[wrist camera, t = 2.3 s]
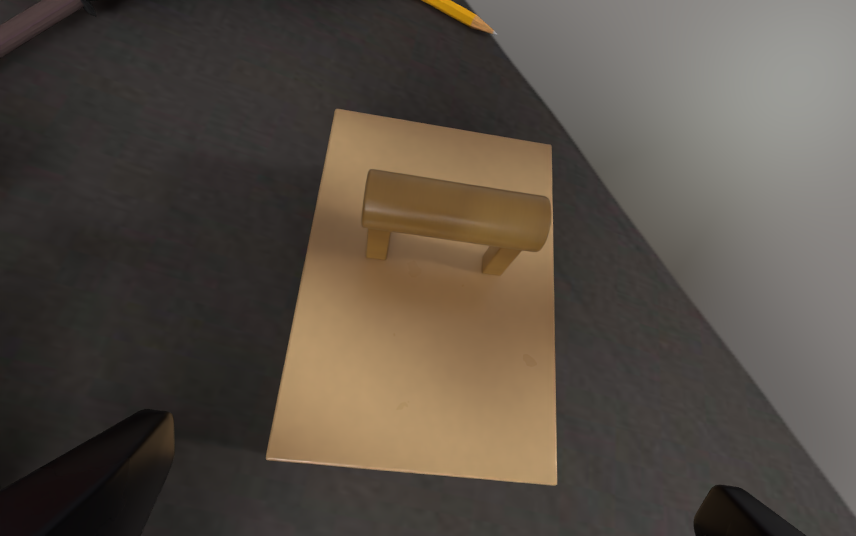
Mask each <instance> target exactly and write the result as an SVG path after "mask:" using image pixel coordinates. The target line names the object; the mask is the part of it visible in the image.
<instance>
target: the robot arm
mask: <svg viewBox="0 0 856 536" xmlns="http://www.w3.org/2000/svg"><path fill="white" fill-rule="evenodd" d="M174 453H175V445H174V418H173V415H172V414H171V413H170V412H167V411H159V410H152V409H144V410H141V411H138V412H137V413H135V414H133V415H131V416H130V417H128V418H126V419H124V420H123V421H121V422H119V423H117V424H116V425H114V426H112V427H110V428H109V429H107V430H105V431H103V432H102V433H100V434H98V435H96V436H95V437H93V438H91V439H89V440H88V441H86V442H84V443H82V444H81V445H79V446H77V447H75V448H74V449H72V450H70V451H68V452H67V453H65V454H63V455H61V456H60V457H58V458H56V459H54V460H53V461H51V462H49V463H47V464H46V465H44V466H42V467H40V468H39V469H37V470H35V471H33V472H32V473H30V474H28V475H26V476H25V477H23V478H21V479H19V480H18V481H16V482H14V483H12V484H11V485H9V486H7V487H5V488H4V489H2V490H0V536H140V535H141V533H142V531H143V529H144V526H145V524H146V522H147V520H148V517H149V515H150V513H151V511H152V509H153V506H154V504H155V502H156V500H157V497H158V495H159V493H160V491H161V489H162V486H163V484H164V482H165V480H166V477H167V475H168V473H169V471H170V468H171V466H172V463H173V459H174ZM694 531H695V535H696V536H806V535H805V534H803V533H802V532H801V531H799V530H798V529H796V528H795V527H794V526H792V525H791V524H790V523H788V522H787V521H786V520H784V519H783V518H782V517H780V516H779V515H778V514H776V513H775V512H773V511H772V510H771V509H769V508H768V507H767V506H765V505H764V504H763V503H761V502H760V501H759V500H757V499H756V498H754V497H753V496H752V495H750V494H749V493H748V492H746V491H745V490H743V489H741V488H739V487H734V486H726V485H715V486H714V487H712V488H711V490H710V491H709V493H708V494H707V496H706V498H705V499H704V501H703V503H702V505H701V506H700V508H699V510H698V511H697V513H696V515H695V517H694Z"/></svg>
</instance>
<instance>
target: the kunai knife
mask: <svg viewBox="0 0 856 536" xmlns="http://www.w3.org/2000/svg"><path fill="white" fill-rule="evenodd" d="M89 1H96V0H42V1H40V2H38V3H37V4H35V5H33V6H32V7H30V8H28V9H27V10H25V11H23V12H22V13H20V14H18V15H17V16H15V17H13V18H12V19H10V20H8V21H7V22H5V23H3V24H2V25H0V58H2V57H3V56H5V55H6V54H8V53H10V52H11V51H13V50H14V49H16V48H18V47H19V46H21V45H23V44H24V43H26V42H27V41H29V40H31V39H32V38H34V37H35V36H37V35H39V34H40V33H42V32H44V31H45V30H47V29H48V28H50V27H52V26H53V25H55V24H56V23H58V22H60V21H61V20H63V19H65V18H66V17H68V16H69V15H71V14H73V13H74V12H76V11H77V10H79V9H81V8H82V7H83V8H84V9H85V10H86V11H87V12H88V13H89V14H91V15H93V16H95V17H96V11H95V9H94V7H93V6H92V5H91V3H90V2H89Z"/></svg>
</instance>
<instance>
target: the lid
mask: <svg viewBox="0 0 856 536" xmlns="http://www.w3.org/2000/svg"><path fill="white" fill-rule="evenodd" d="M266 459H267V460H271V461H283V462H294V463H305V464H317V465H328V466H339V467H351V468H362V469H373V470H385V471H396V472H407V473H419V474H430V475H441V476H453V477H464V478H475V479H487V480H498V481H509V482H521V483H532V484H543V485H557V440H556V381H555V322H554V262H553V203H552V146H551V145H548V144H542V143H536V142H530V141H524V140H518V139H513V138H507V137H501V136H495V135H489V134H483V133H477V132H471V131H465V130H460V129H454V128H448V127H442V126H436V125H430V124H424V123H418V122H412V121H407V120H401V119H395V118H389V117H383V116H377V115H371V114H365V113H359V112H354V111H348V110H342V109H336V110H335V113H334V118H333V123H332V128H331V133H330V138H329V143H328V148H327V153H326V158H325V163H324V168H323V173H322V178H321V183H320V188H319V193H318V198H317V203H316V208H315V213H314V218H313V223H312V228H311V233H310V238H309V243H308V248H307V253H306V258H305V263H304V268H303V273H302V278H301V283H300V288H299V293H298V298H297V303H296V308H295V313H294V318H293V323H292V328H291V333H290V338H289V343H288V348H287V353H286V358H285V363H284V368H283V373H282V378H281V383H280V388H279V393H278V398H277V403H276V408H275V413H274V418H273V423H272V428H271V433H270V438H269V442H268V447H267V452H266Z"/></svg>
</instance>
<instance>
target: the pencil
mask: <svg viewBox="0 0 856 536" xmlns="http://www.w3.org/2000/svg"><path fill="white" fill-rule="evenodd" d="M422 1H424V2H425V3H427V4H429V5H431V6H433V7H434V8H436V9H438V10H440V11H441V12H443V13H445V14H447V15H449V16H450V17H452V18H454V19H456V20H458V21H459V22H461V23H463V24H465V25H467V26H468V27H470V28H473V29H476V30H480V31H483V32H487V33H490V34H495V35H497V33H496V32H495V31H494V30H493V29H492V28H490V27H489V26H488V25H487V24H486V23H485V22H484V21H483V20H482V19H481V18H479V17H478V16H477V15H476V14H474V13H472V12H471V11H469V10H467V9H465V8H463V7H462V6H460V5H458V4H456V3H454V2H453V1H451V0H422Z"/></svg>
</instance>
